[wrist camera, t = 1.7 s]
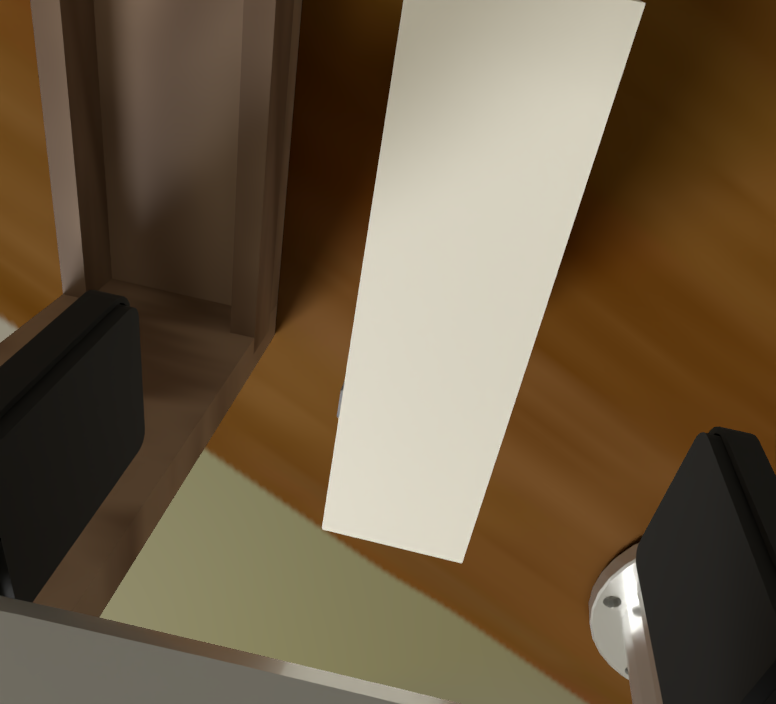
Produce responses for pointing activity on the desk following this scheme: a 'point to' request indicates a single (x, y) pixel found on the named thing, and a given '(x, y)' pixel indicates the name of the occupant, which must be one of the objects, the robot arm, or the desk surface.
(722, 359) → the desk surface
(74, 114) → the door frame
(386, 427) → the door panel
